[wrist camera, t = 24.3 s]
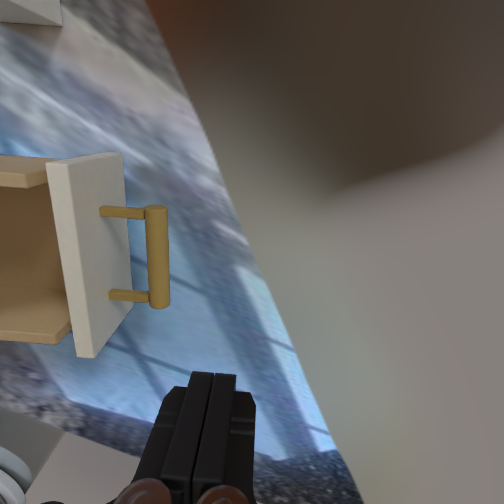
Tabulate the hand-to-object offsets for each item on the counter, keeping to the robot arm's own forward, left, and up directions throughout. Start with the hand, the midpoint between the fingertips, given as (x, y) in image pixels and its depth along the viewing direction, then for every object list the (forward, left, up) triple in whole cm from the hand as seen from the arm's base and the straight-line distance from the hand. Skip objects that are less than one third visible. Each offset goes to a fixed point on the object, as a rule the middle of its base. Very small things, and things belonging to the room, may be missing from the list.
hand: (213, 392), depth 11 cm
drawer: (0, +14, -15) cm, 20 cm away
